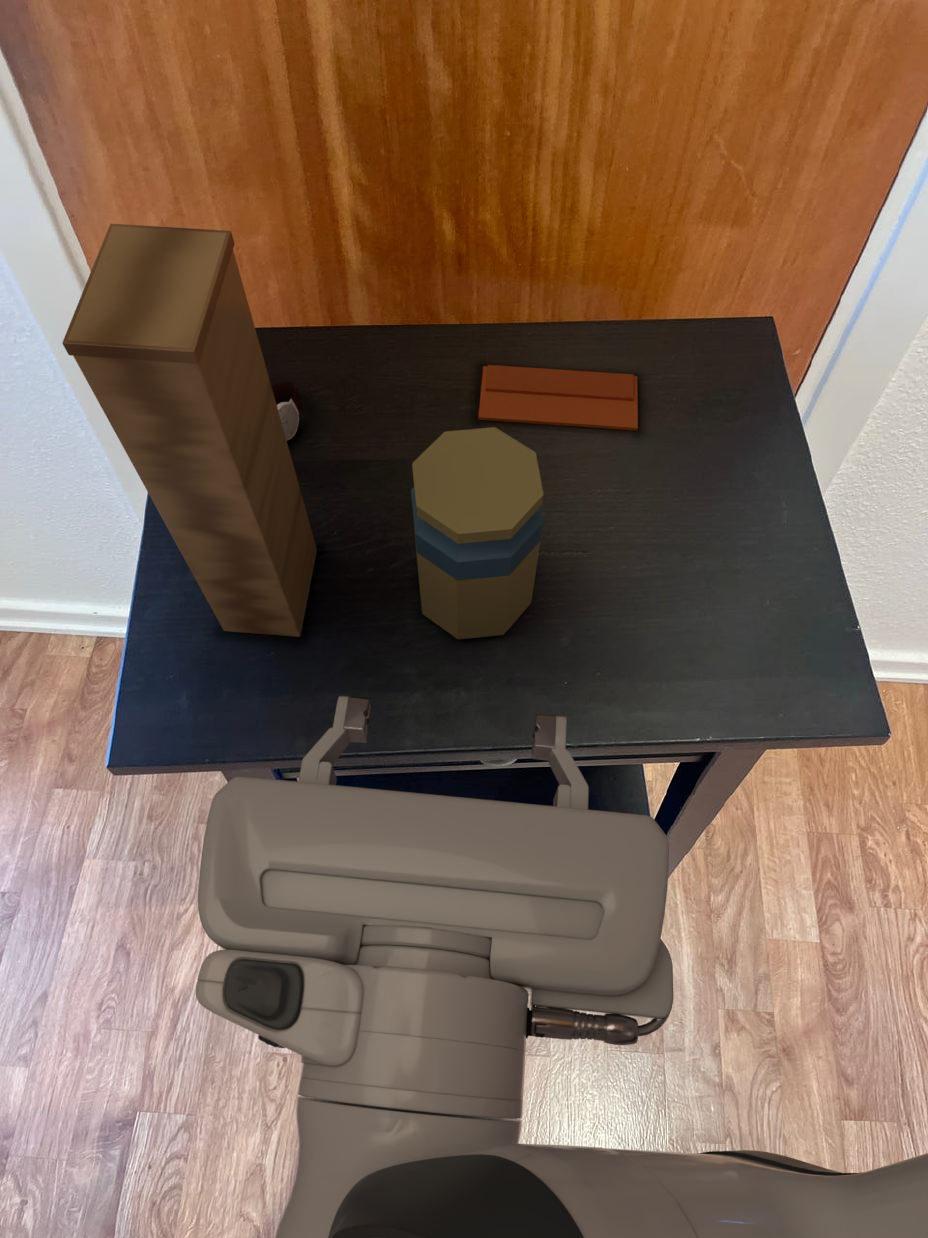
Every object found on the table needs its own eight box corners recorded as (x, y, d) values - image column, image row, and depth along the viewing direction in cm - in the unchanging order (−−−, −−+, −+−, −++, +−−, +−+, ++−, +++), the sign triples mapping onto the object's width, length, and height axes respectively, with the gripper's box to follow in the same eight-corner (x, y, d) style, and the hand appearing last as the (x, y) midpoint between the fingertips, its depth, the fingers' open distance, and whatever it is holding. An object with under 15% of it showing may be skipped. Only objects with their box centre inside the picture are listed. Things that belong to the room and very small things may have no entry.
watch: (270, 469, 73) (261, 442, 70) (224, 449, 74) (213, 422, 71) (317, 407, 77) (311, 378, 73) (272, 388, 78) (264, 359, 74)
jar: (435, 532, 70) (429, 409, 57) (544, 559, 69) (563, 439, 56) (400, 628, 66) (385, 519, 53) (515, 658, 65) (529, 555, 52)
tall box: (318, 548, 70) (231, 230, 43) (301, 638, 66) (194, 351, 39) (243, 542, 70) (110, 222, 43) (222, 632, 66) (61, 342, 40)
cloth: (636, 379, 78) (638, 372, 78) (637, 430, 75) (638, 424, 75) (483, 368, 79) (483, 362, 78) (478, 419, 76) (478, 413, 75)
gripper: (693, 1049, 32) (683, 705, 38) (152, 992, 33) (232, 663, 39) (657, 1053, 38) (654, 752, 44) (195, 1005, 38) (259, 715, 45)
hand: (452, 709), depth 42 cm, fingers open, 8 cm apart
